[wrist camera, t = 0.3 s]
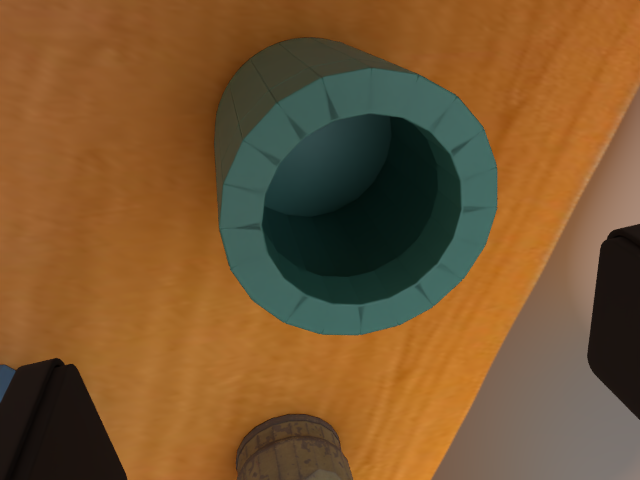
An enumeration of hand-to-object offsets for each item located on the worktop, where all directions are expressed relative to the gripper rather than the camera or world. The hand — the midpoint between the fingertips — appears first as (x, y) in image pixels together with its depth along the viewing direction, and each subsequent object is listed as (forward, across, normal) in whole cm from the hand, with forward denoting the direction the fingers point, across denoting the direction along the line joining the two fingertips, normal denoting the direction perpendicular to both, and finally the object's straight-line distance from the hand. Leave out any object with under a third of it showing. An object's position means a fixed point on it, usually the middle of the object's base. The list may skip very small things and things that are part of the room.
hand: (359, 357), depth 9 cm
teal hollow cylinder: (+24, -3, +3) cm, 24 cm away
